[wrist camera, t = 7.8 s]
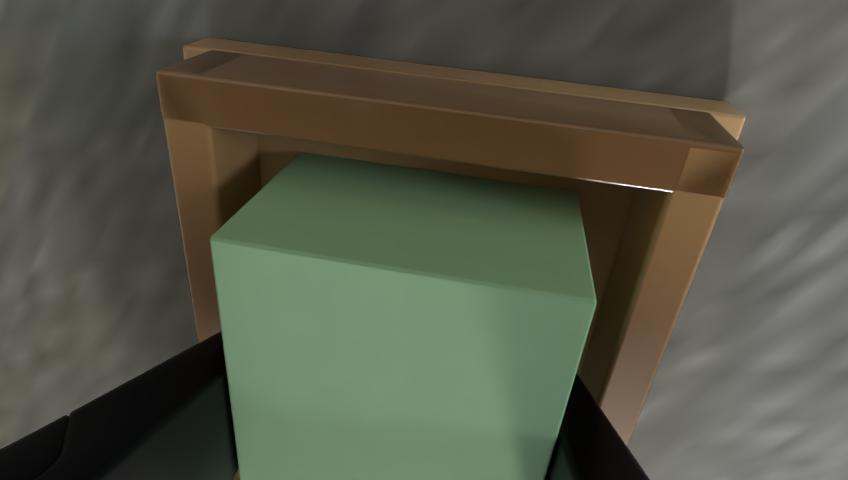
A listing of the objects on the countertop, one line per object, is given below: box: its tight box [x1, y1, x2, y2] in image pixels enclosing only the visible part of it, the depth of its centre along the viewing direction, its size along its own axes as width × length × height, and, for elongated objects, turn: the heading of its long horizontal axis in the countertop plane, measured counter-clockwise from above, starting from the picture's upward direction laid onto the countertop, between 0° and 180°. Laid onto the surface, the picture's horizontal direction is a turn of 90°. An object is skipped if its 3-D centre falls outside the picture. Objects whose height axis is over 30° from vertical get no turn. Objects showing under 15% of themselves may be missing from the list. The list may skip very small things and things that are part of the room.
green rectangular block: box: [210, 152, 597, 480], centre depth 9 cm, size 6×4×3 cm
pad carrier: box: [155, 38, 745, 480], centre depth 11 cm, size 16×8×3 cm, turn 176°
